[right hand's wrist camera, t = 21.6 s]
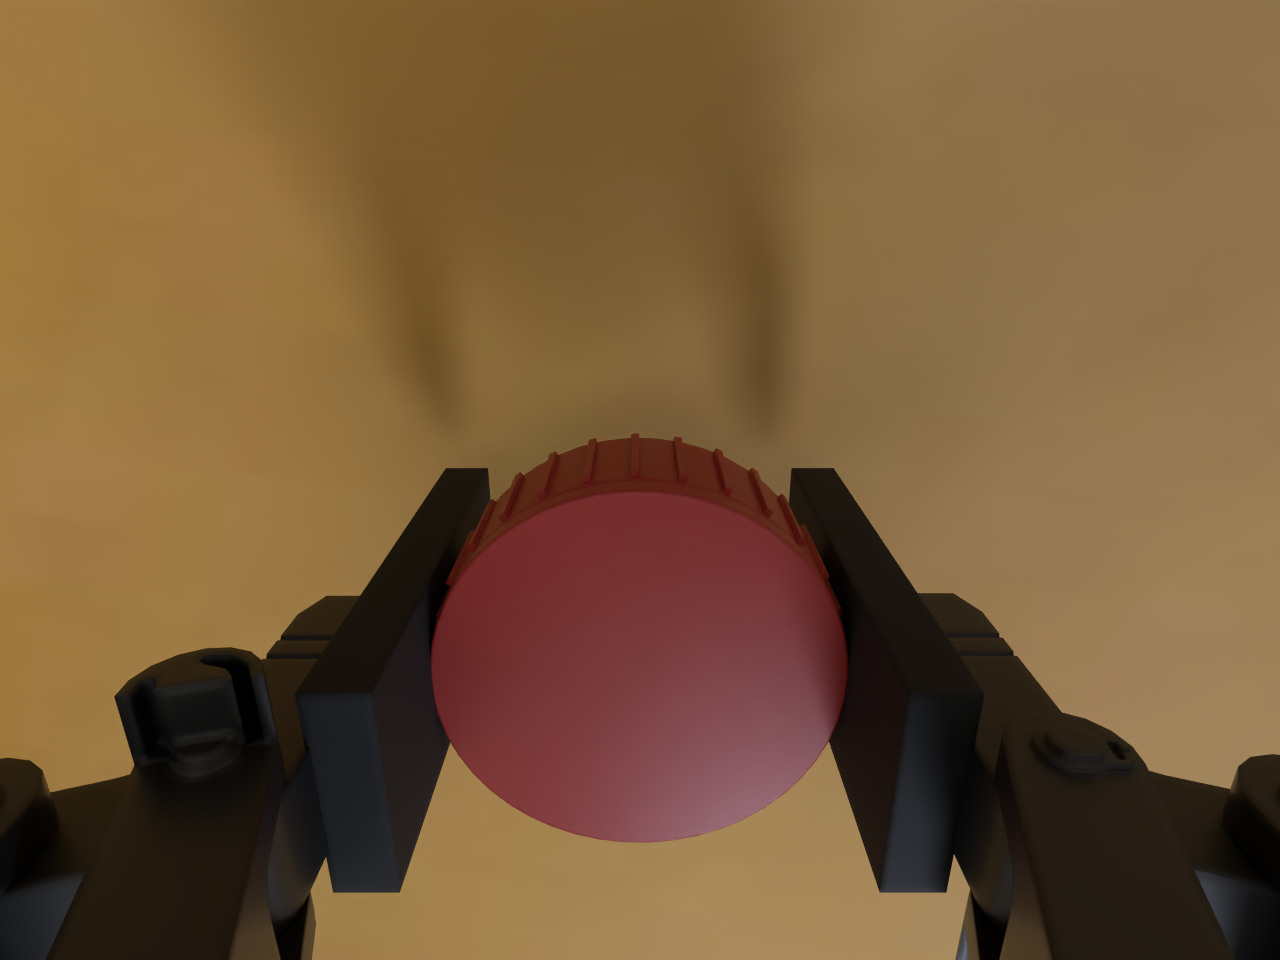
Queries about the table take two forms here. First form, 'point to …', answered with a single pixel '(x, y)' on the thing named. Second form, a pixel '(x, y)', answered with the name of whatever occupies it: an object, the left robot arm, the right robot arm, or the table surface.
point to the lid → (639, 643)
